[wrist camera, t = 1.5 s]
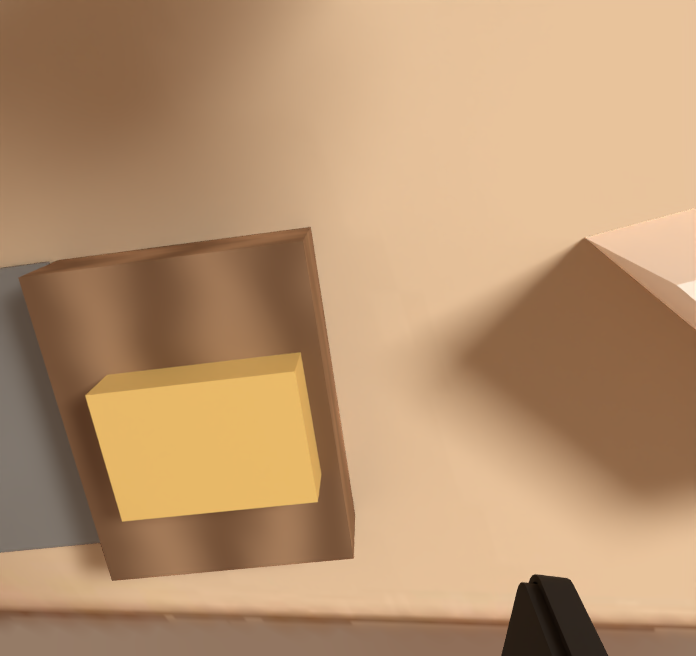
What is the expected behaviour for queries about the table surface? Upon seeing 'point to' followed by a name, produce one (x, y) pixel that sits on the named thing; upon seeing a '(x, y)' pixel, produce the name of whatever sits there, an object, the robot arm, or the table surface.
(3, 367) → the mat
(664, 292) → the white rectangular block
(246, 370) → the yellow sticky note pad
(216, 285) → the plate
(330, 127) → the table surface
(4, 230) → the table surface
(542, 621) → the robot arm
